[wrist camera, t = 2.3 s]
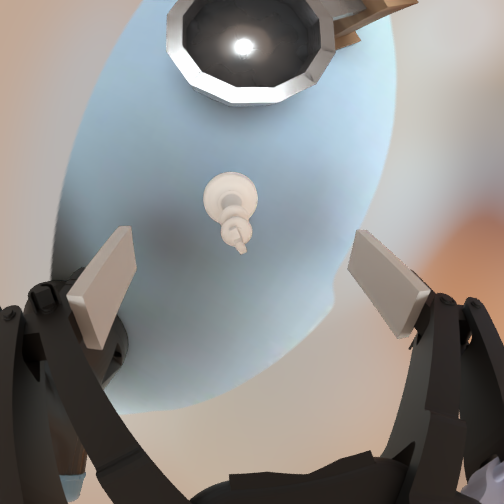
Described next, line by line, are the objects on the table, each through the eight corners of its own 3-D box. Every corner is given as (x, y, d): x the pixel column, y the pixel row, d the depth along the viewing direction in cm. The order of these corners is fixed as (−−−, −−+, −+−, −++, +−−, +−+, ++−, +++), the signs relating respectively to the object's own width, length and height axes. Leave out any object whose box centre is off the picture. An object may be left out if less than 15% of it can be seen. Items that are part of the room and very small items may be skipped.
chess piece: (216, 231, 26) (217, 293, 17) (194, 185, 23) (180, 225, 15) (265, 211, 25) (292, 264, 17) (245, 163, 23) (265, 190, 14)
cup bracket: (223, 132, 15) (224, 133, 12) (151, 32, 12) (137, 14, 9) (387, 53, 13) (415, 46, 10) (325, -37, 10) (343, -56, 7)
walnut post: (315, 58, 19) (385, 24, 9) (286, 16, 17) (335, -43, 7) (356, 42, 18) (435, 14, 8) (329, 2, 16) (393, -46, 6)
